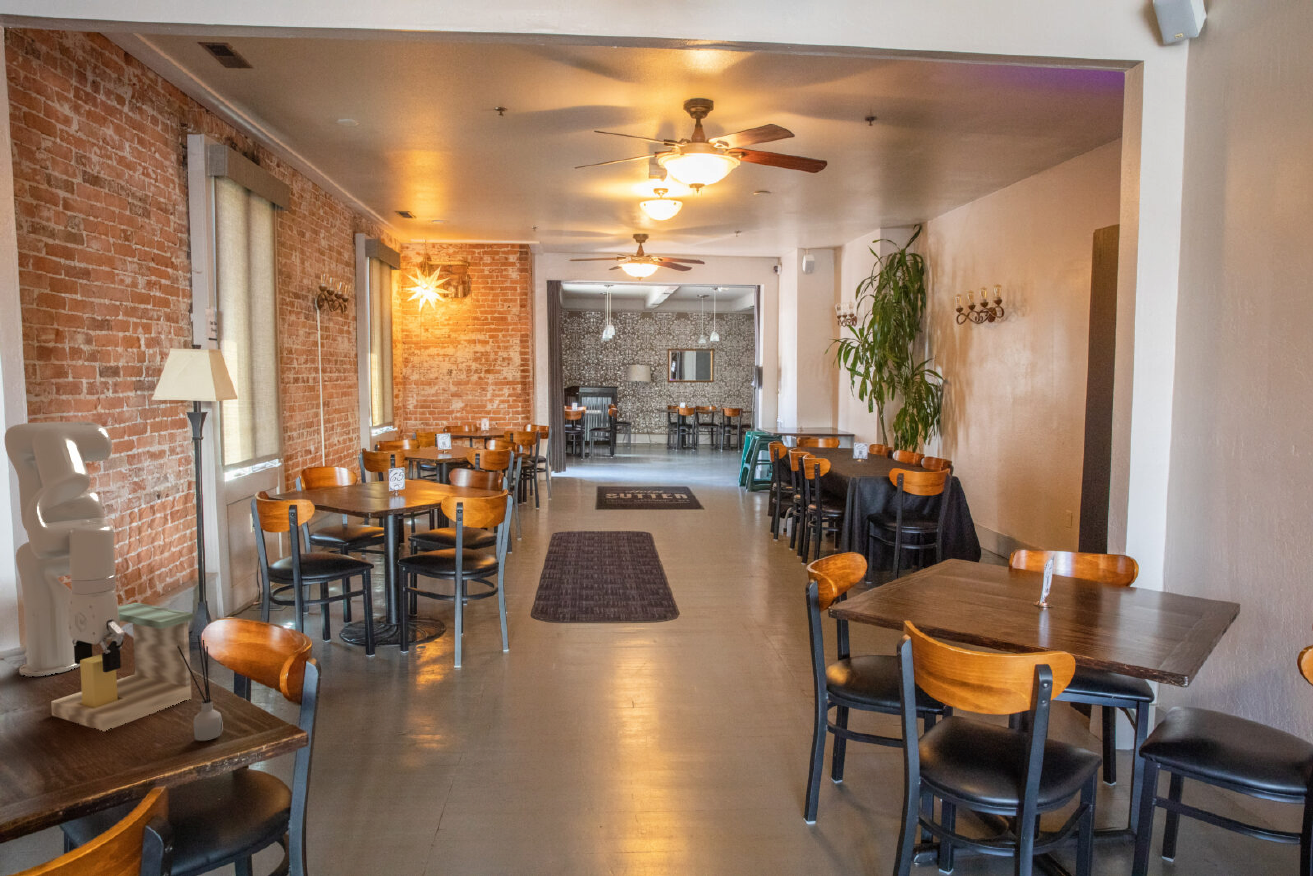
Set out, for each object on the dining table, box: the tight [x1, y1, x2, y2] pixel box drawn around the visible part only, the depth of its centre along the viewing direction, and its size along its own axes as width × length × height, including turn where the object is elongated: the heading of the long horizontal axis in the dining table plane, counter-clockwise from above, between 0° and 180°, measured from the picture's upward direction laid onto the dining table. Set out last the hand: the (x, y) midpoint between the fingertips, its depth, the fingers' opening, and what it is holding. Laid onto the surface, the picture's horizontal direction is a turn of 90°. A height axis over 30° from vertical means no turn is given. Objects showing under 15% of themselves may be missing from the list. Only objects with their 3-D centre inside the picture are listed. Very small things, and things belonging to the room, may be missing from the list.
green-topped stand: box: [50, 602, 194, 732], centre depth 169 cm, size 20×18×19 cm
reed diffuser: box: [177, 634, 224, 742], centre depth 153 cm, size 10×7×20 cm
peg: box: [79, 653, 118, 709], centre depth 165 cm, size 4×4×12 cm
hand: (97, 666), depth 165 cm, fingers open, 9 cm apart
